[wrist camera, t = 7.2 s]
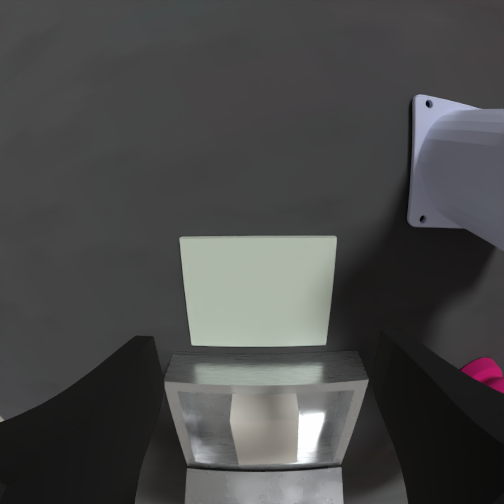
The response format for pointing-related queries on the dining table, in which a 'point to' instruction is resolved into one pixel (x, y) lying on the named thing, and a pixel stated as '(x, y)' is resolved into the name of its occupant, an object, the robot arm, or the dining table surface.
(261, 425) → the block
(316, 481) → the lid
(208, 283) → the pad
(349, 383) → the case
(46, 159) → the dining table surface
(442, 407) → the robot arm
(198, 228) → the dining table surface
